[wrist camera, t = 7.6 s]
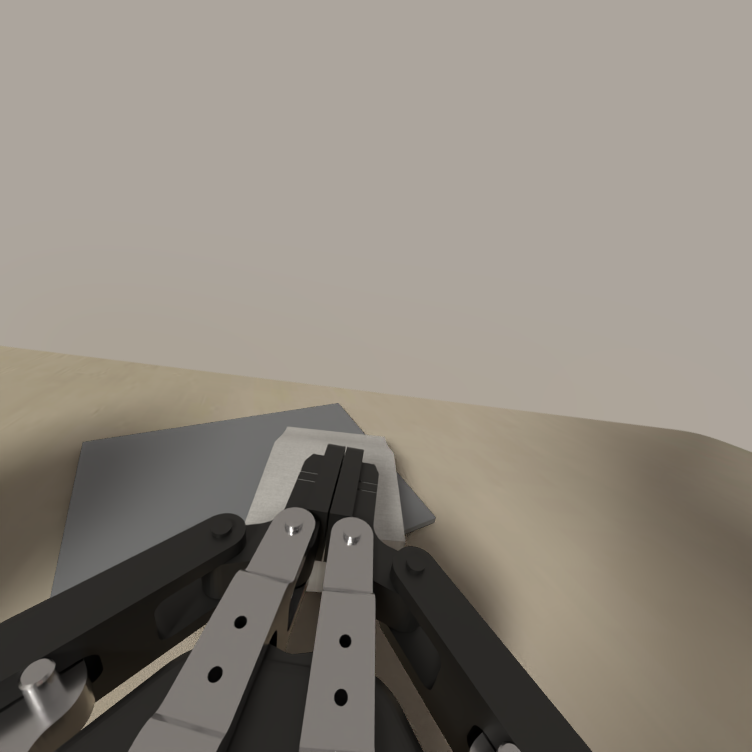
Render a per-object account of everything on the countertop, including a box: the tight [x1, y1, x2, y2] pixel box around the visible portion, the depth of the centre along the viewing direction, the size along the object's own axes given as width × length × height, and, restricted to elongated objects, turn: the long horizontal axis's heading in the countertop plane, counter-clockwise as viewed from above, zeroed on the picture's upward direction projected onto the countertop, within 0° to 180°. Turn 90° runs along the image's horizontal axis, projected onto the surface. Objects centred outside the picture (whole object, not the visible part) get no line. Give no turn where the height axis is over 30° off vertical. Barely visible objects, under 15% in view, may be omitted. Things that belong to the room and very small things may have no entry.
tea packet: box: [245, 427, 405, 592], centre depth 20 cm, size 4×7×10 cm
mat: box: [50, 403, 436, 598], centre depth 22 cm, size 18×14×1 cm
